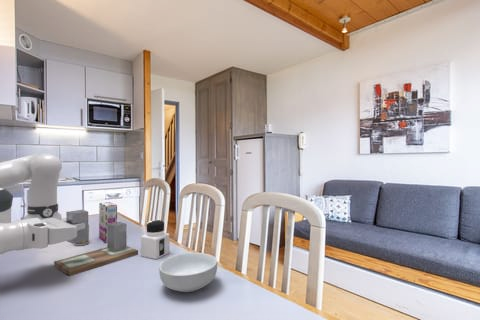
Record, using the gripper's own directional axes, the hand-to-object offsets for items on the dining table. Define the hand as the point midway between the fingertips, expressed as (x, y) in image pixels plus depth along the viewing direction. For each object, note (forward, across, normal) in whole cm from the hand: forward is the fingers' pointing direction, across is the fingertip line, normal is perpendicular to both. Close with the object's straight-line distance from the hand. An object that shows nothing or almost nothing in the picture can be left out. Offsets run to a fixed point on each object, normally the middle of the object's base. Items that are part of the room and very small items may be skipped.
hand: (80, 223), depth 93 cm
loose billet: (-1, 0, -6) cm, 6 cm away
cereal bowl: (+13, +41, -15) cm, 45 cm away
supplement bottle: (+10, -24, -15) cm, 30 cm away
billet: (+13, 0, -13) cm, 18 cm away
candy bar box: (+20, -21, -15) cm, 33 cm away
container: (+22, +12, -15) cm, 29 cm away
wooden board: (+6, 0, -14) cm, 16 cm away
